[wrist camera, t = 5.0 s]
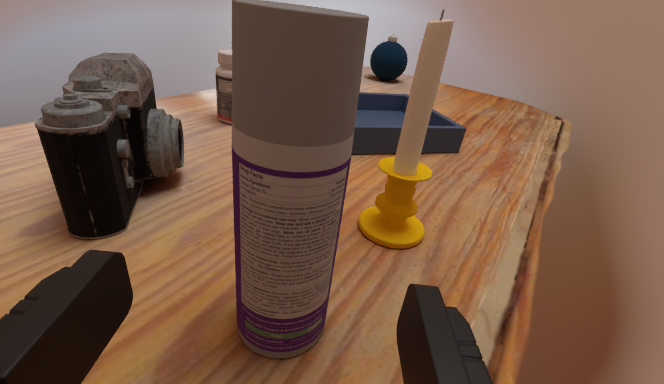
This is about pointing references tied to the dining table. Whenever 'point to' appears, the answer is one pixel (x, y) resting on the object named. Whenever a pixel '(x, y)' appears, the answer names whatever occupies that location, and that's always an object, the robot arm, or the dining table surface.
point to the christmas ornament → (388, 59)
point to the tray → (398, 126)
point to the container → (290, 164)
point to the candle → (409, 150)
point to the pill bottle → (224, 86)
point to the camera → (107, 142)
